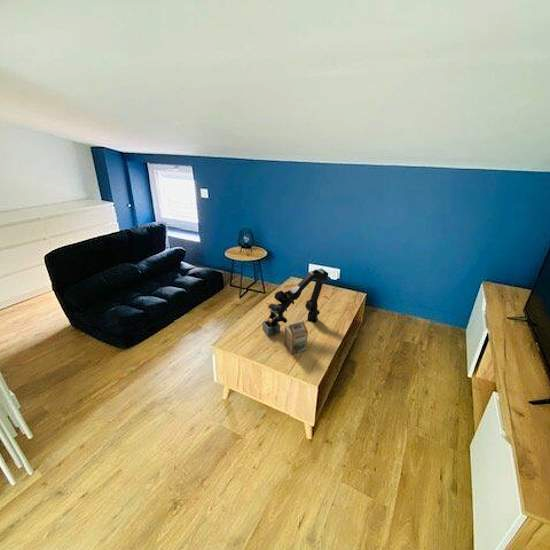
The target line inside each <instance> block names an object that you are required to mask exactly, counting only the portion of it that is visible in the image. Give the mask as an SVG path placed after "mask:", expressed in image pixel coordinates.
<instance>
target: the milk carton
mask: <svg viewBox="0 0 550 550" xmlns="http://www.w3.org/2000/svg"><path fill="white" fill-rule="evenodd" d="M283 335H284V337H283V338H284V339H283V341H284V342H283V343H284V344H283V346H284V347H285V349H286V350H287V351H288V352H289V354H290V355H291V356H293V355H296V354H300V353H303V352H306V351H307V350H308V335H309V332H308V328H307V326H306V324H305V321H304V320H301V321H297V322H292V323H289V324H288V325H286V326H284V334H283Z"/></svg>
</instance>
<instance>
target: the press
mask: <svg viewBox="0 0 550 550" xmlns="http://www.w3.org/2000/svg"><path fill="white" fill-rule="evenodd" d="M262 330H263V332H264V333H265V335H266V336H267V337H271V336H274V335H279V334H281V324H280V322H277V323H275V324H273V325H272V327H271V325H270V324H269V322H268V319H267V320H264V321H262Z"/></svg>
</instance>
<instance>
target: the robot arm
mask: <svg viewBox="0 0 550 550" xmlns="http://www.w3.org/2000/svg"><path fill="white" fill-rule="evenodd" d="M328 277H329V273H328V271H326V270H325V269H323V268H318V269H314V270H311V271H309V272H308V274H307V275H306V276H304V278H302V280H301V281H299V283H298V284H296V286H293V287H291V288H290V289H289V290H287V291H285V292H284V291H283V290H280V291H277V292H276V293H275V294H274V295H273V296H274V299H275V300H276V301H278V303H277V304H276V303H270V304H269V305H268V306H267V308H268V309H269V312H270V314H269V317H268V319H267V320H268V322H269V318H273V319H274V320H273V321H272V322H271V324H270V325H273V324H275V323H277V322H278V323H280V322H283V323H284V324H286V323H287V322H288V319H287V318H286V316H284V313H285V312H288V308H289V307H290V306H291V305H292V304H293V305H295V301H297V300H298V299H299V298H300V297H301V295H302V292H303V291H304V289H306V288H307V286H308V285H309V284H310V283H311V282H312V281H313V280H316V281H315V284H314V287H313V291H312V293H311V297H310V299H309V300H306V301H305V309H306V310H307V311H308V313H307V322H311V323H317V321H318V319H319V317H318V316H319V315H320V314H321V311H320V310H318V308H319V305H318V300H319V297H320V293H321V291H322V287H323V284H324V283H325V282H326V281H327V280H328Z"/></svg>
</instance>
